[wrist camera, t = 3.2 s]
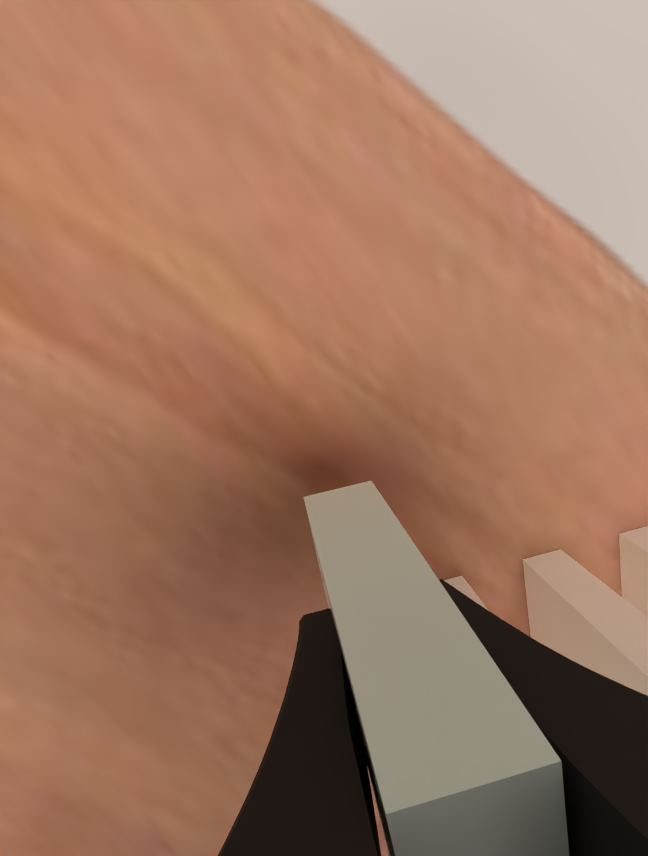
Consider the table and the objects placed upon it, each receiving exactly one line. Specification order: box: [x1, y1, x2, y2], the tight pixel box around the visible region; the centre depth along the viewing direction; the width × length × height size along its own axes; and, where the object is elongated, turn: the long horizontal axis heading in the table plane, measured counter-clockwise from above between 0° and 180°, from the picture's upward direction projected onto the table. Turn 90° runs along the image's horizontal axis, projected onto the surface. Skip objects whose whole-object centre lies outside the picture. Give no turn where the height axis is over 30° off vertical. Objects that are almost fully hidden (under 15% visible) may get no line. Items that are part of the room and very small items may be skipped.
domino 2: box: [522, 549, 648, 696], centre depth 18 cm, size 2×4×8 cm, turn 12°
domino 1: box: [303, 481, 569, 856], centre depth 9 cm, size 2×4×8 cm, turn 11°
